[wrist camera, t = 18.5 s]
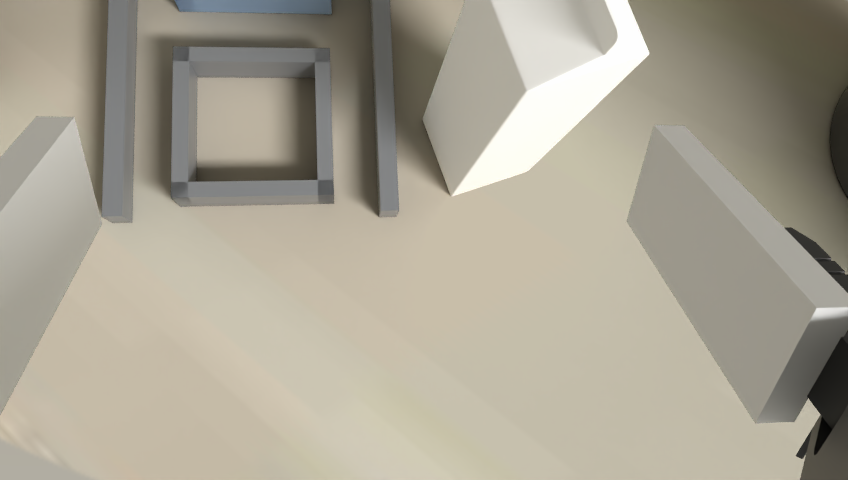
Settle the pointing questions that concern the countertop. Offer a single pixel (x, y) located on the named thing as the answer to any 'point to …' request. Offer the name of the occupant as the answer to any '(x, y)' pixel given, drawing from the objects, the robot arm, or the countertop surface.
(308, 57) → the grey railed frame
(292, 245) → the countertop surface
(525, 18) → the milk
